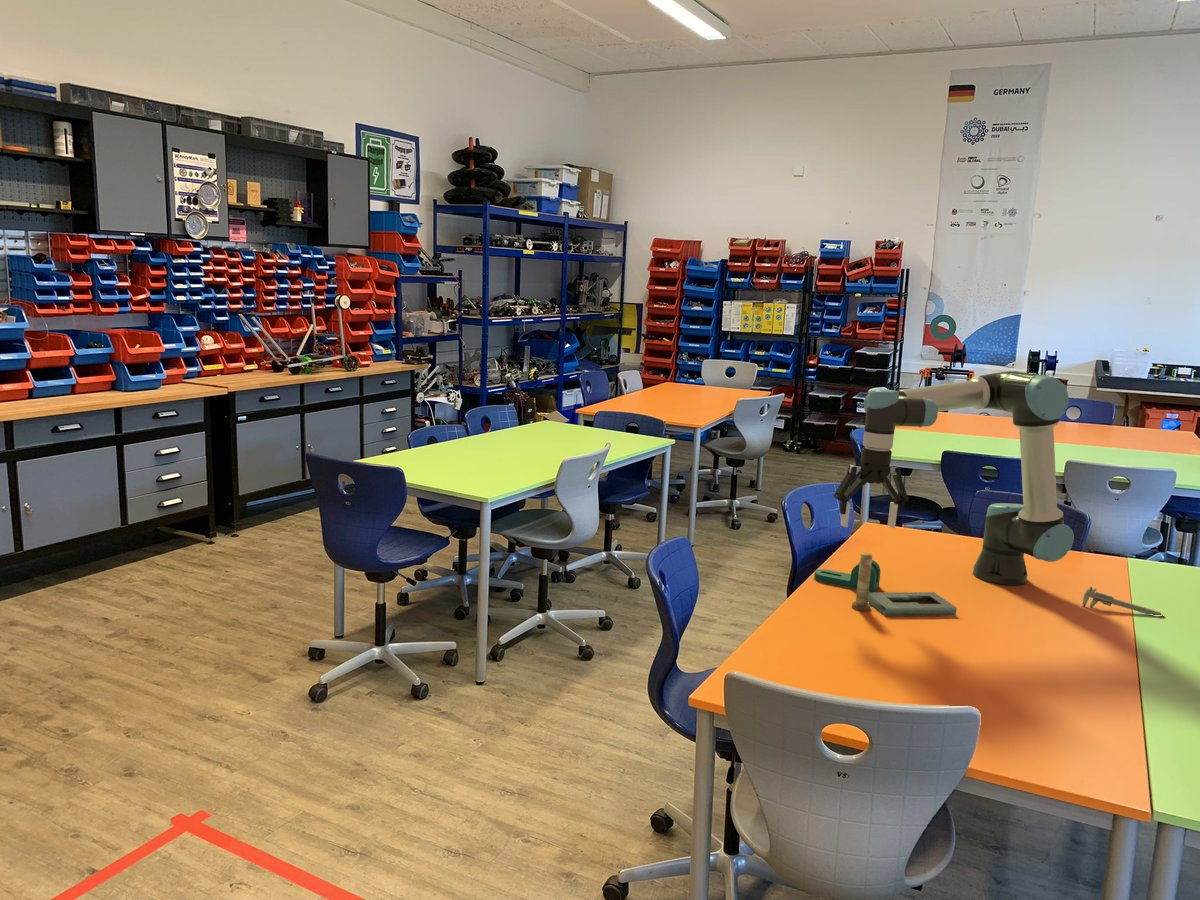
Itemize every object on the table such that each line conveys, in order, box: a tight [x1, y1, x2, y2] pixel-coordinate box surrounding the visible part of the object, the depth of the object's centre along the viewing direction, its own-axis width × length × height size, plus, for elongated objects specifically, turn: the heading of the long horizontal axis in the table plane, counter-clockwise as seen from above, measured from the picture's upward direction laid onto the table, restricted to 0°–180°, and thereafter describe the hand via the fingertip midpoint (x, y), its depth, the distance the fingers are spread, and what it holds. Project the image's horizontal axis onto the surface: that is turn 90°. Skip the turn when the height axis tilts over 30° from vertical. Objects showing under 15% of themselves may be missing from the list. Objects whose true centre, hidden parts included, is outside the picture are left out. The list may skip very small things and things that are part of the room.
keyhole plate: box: [867, 591, 957, 617], centre depth 238 cm, size 20×12×2 cm, turn 98°
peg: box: [851, 552, 873, 612], centre depth 235 cm, size 5×5×15 cm
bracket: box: [813, 559, 881, 592], centre depth 256 cm, size 18×7×8 cm, turn 60°
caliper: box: [1082, 586, 1164, 616], centre depth 243 cm, size 20×1×6 cm, turn 73°
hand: (867, 526), depth 234 cm, fingers open, 13 cm apart
